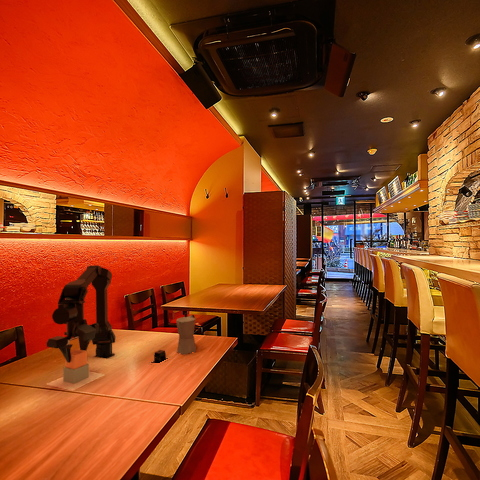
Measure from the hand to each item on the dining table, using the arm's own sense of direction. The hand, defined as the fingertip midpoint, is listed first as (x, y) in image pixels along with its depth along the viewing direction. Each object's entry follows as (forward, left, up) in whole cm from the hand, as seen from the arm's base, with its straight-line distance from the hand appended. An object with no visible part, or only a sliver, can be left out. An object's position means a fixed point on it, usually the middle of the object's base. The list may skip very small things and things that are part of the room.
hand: (76, 359), depth 115 cm
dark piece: (-29, +16, -9) cm, 34 cm away
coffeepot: (-44, +20, -9) cm, 49 cm away
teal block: (0, 0, -7) cm, 7 cm away
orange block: (0, 0, -2) cm, 2 cm away
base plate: (0, 0, -8) cm, 8 cm away
